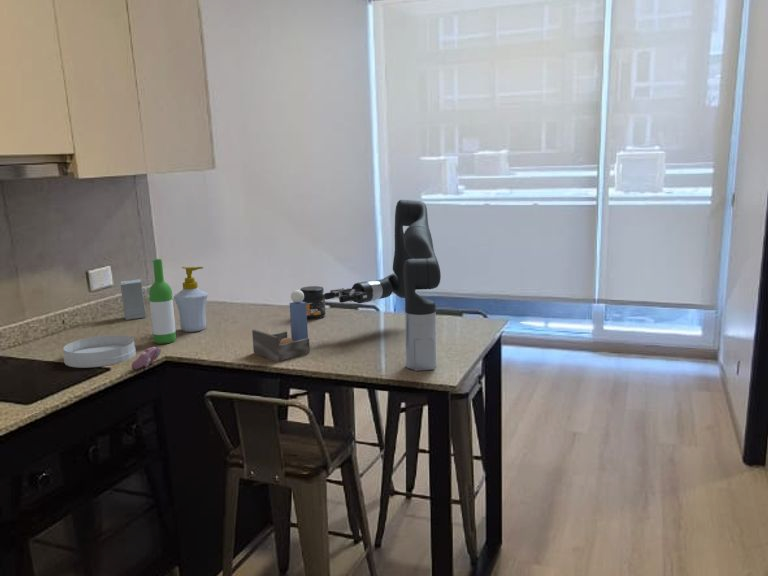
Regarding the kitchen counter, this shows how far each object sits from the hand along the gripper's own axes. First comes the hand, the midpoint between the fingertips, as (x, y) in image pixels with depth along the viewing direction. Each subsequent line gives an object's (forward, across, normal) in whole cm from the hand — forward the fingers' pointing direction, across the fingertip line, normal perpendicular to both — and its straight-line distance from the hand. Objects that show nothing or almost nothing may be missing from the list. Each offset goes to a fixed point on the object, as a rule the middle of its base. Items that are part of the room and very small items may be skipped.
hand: (332, 298), depth 223 cm
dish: (+65, -44, +16) cm, 80 cm away
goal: (+20, -2, +16) cm, 26 cm away
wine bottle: (+41, -46, +16) cm, 64 cm away
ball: (+21, -2, +12) cm, 24 cm away
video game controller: (+57, -23, +16) cm, 64 cm away
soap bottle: (+26, -54, +16) cm, 62 cm away
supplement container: (-18, -37, +15) cm, 44 cm away
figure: (+13, -2, +16) cm, 21 cm away
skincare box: (+34, -93, +15) cm, 100 cm away
